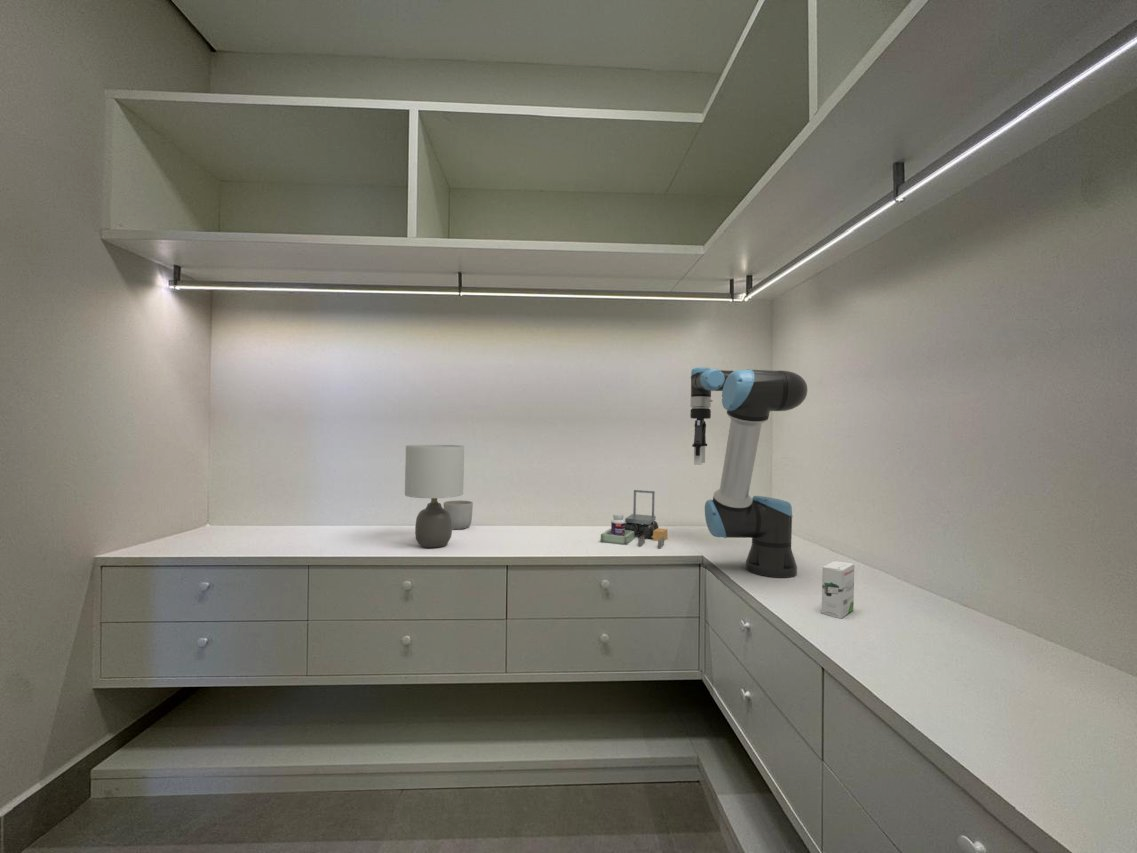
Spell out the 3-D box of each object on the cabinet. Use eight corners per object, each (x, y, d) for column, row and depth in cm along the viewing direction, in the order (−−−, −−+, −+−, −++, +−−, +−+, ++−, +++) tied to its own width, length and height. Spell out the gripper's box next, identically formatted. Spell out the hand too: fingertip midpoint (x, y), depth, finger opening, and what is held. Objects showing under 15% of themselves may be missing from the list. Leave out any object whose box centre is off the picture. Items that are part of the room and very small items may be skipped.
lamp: (453, 553, 172) (455, 447, 172) (394, 551, 173) (396, 446, 173) (468, 540, 193) (470, 445, 193) (415, 538, 194) (417, 444, 194)
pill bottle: (615, 540, 194) (615, 515, 194) (608, 537, 199) (609, 513, 199) (627, 539, 196) (627, 515, 196) (620, 537, 201) (620, 512, 201)
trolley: (652, 539, 200) (653, 494, 200) (621, 536, 205) (622, 492, 205) (658, 534, 211) (659, 491, 211) (628, 531, 216) (629, 489, 216)
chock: (662, 542, 197) (662, 531, 197) (652, 540, 199) (653, 530, 199) (667, 539, 202) (667, 529, 202) (657, 537, 204) (658, 528, 204)
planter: (476, 525, 221) (477, 501, 221) (464, 531, 209) (465, 505, 209) (451, 524, 224) (451, 499, 224) (437, 529, 212) (438, 503, 212)
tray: (626, 544, 190) (626, 537, 190) (600, 542, 194) (600, 534, 194) (634, 538, 202) (634, 531, 202) (609, 535, 205) (609, 528, 206)
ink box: (833, 605, 128) (834, 559, 128) (854, 610, 125) (855, 563, 125) (820, 613, 122) (821, 565, 122) (842, 619, 119) (843, 569, 119)
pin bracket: (660, 548, 185) (660, 540, 185) (638, 546, 188) (638, 538, 188) (664, 544, 192) (664, 537, 192) (642, 542, 195) (642, 534, 195)
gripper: (707, 406, 178) (706, 466, 178) (713, 409, 202) (712, 462, 201) (686, 406, 181) (685, 465, 181) (694, 409, 204) (693, 461, 204)
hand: (699, 463), depth 191 cm, fingers open, 13 cm apart
